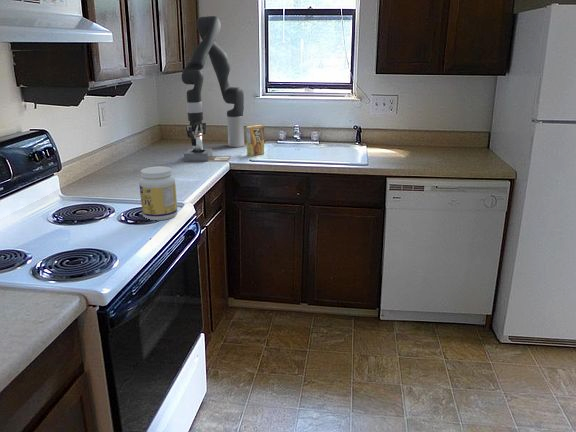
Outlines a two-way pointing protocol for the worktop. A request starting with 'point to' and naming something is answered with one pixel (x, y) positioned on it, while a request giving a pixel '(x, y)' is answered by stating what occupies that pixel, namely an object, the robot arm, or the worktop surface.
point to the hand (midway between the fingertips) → (197, 144)
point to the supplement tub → (158, 193)
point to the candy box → (255, 140)
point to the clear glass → (198, 143)
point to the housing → (198, 155)
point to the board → (215, 159)
